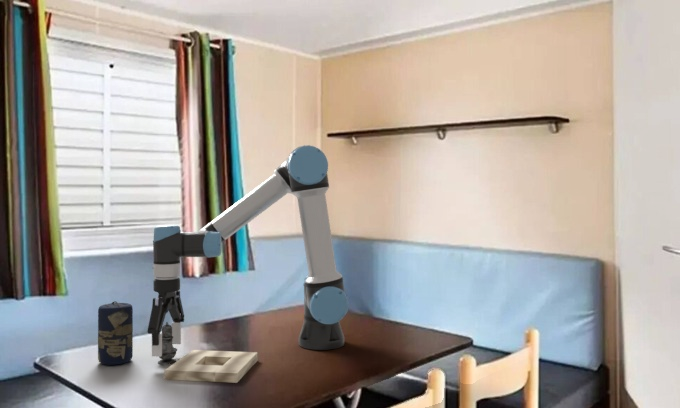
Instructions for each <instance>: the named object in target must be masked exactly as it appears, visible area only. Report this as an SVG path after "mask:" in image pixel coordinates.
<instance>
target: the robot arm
mask: <svg viewBox="0 0 680 408" xmlns="http://www.w3.org/2000/svg"><path fill="white" fill-rule="evenodd" d="M328 169H329V161H328V159H327V155H325V153H324V152H323V151H322V150H321V149H320V148H318V147H316V146H314V145H301V146H298V147H296V148H295V149H293V150H292V151H291V153H289V154H288V157H287V158H286V159H285V160H284V161H283V162H282V164H280V165H279V166H278V167H277V168H275V169H274V171H273V174H272V175H271V176H270V177H268V178H266V180H265V181H263V182H262V183H260V184H259V185H257V186H256V187H255V188H254V189H253V190H251V191H250V192H249V193H247V194H245V195H244V196H243V197H242V198H241V199H239V200H238V201H236V202H235V203H233V205H231V206H230V207H228V208H227V209H226V210H224V211H223V212H222V213H220V214H219V215H218V216H216V217H215V218H214V219H212V220H211V221H210V222H208V223H207V224H206V225H204V226H203V227H202V228H200V229H199V230H197V231H187V232H186V231H181V227H180V225H178V224H177V225H176V224H161V225H156V226H155V227H154V228H153V240H152V245H153V248H152V249H153V253H152V254H153V265H152V270H153V277H154V279H153V281H152V282H153V292H155V293H158V294H157V295H158V296H157V297H153V298H152V308H151V311H150V317H149V322H148V325H147V326H148V327H147V334H151V357H156V358H157V357H158V358H159V357H161V356H162V327H163V326H164V322H165V318H166V315H167V313H169V315H170V317H171V319H172V322H171V326H172V336H173V338H172V344H173V345H182V323H184V322H185V313H184V309H183V304H182V299H181V291H180V290H181V278H180V276H181V258H209V259H210V258H215V257H216V258H218V257H220V256H221V254H222V244H223V242H225V241H226V240H227V239H229V238H230V237H232V236H233V235H234V234H235V233H237V232H238V231H239V230H241V229H242V228H244V226H246V225H247V224H249V223H250V222H251V221H253V220H254V219H256V218H257V217H258V216H259V215H261V214H262V213H263V212H265V211H266V210H267V209H269V208H271V206H273V205H274V204H275V203H277V202H278V201H279V200H281V199H282V198H283V197H285V196H286V195H287V194H292V195H293V196H295V197H296V199H297V204H298V205H297V206H298V212H299V217H300V223H301V230H302V236H303V243H304V251H305V256H306V257H305V259H306V265H307V270H308V274H307V275H306V276H305V277H304V278H303V279H304V280H303V323H302V325H301V326H302V327H301V330H300V333H299V335H298V346H300V347H301V348H303V349H307V350H315V351H327V350H328V351H329V350H334V349H340V348H342V347H343V346H344V345H345V335H344V332H343V329H342V326H341V322H340V321H342V319H344V318H345V317H346V315H347V313H348V311H349V305H350V304H349V298H348V295H347V294H346V291H345V285H344V279H343V278H344V277H343V275H342V274H341V273H340V272H339V271H338V270H337V266H336V265H337V264H336V258H335V251H334V250H335V249H334V245H333V240H332V239H333V237H332V229H331V224H330V219H329V212H328V211H329V210H328V204H327V198H326V193H327V192H328V190H329V189H330V184H329V178H328V177H329V175H328V171H329V170H328Z"/></svg>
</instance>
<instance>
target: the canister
mask: <svg viewBox="0 0 680 408" xmlns="http://www.w3.org/2000/svg"><path fill="white" fill-rule="evenodd" d="M97 311H98V312H97V360H98V362H99V363H100V364H102V365H106V366H111V365H112V366H114V365H122V364H125V363H128V362H130V361H132V359H133V350H134V349H133V347H134V346H133V345H134V344H133V340H134V339H133V337H134V336H133V333H134V332H133V330H134V329H133V328H134V327H133V326H134V325H133V323H134V322H133V311H134V310H133V305H132V304H131V303H127V302H118V301H115V300H114V301H112V302H110V303H105V304H102V305H100V306H99V307H98V309H97Z"/></svg>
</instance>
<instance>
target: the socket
mask: <svg viewBox="0 0 680 408" xmlns="http://www.w3.org/2000/svg"><path fill="white" fill-rule="evenodd" d="M257 362H258V352H257V351H254V352H253V351H231V350H229V351H228V350H204V349H192V350H190V351H189V352H188V353H186V354H185V355H183V357H181V358H180V359H178V360H176V362H175V363H174V364H170V366H168V367H167V368H166V369H164V380H169V381H171V380H172V381H187V382H189V381H190V382H212V383H214V382H215V383H233V384H234V383H235V384H237V383H238V382H240V380H241V379H242V378H243V377H244V376H245V375H246V374H248V372H249V371H250V369H252V367H254V365H255V364H256V363H257Z"/></svg>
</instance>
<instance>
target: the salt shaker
mask: <svg viewBox="0 0 680 408" xmlns="http://www.w3.org/2000/svg"><path fill="white" fill-rule="evenodd" d="M168 322H169V321H166V323H165V325H164V324H163V325H162V329H161V333H162V356H161V357H158V358H159V360H158V361H157V364H158V365H161V366H167V365H170V366H171V365H173V364H174V363H175V362H177V360H176V359H175V357H176V354H177V351H178V348H177V347H174V346H173V345H174V344H172V338H173V336H172V324H169V323H168Z"/></svg>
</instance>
